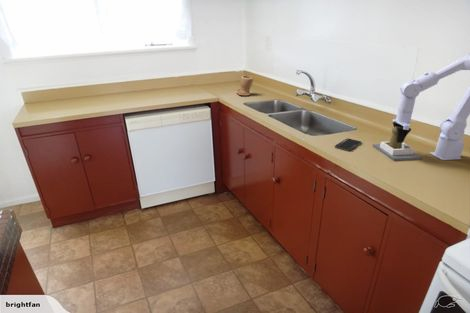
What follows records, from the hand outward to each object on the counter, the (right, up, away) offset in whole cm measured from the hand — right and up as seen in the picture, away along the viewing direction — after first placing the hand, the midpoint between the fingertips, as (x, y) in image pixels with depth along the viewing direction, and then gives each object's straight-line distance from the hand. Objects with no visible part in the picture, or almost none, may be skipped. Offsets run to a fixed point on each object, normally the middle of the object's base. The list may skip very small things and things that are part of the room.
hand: (398, 140), depth 140 cm
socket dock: (0, -5, +2) cm, 6 cm away
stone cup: (-66, +43, +112) cm, 136 cm away
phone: (-19, -3, +10) cm, 22 cm away
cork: (-1, -5, +2) cm, 5 cm away
